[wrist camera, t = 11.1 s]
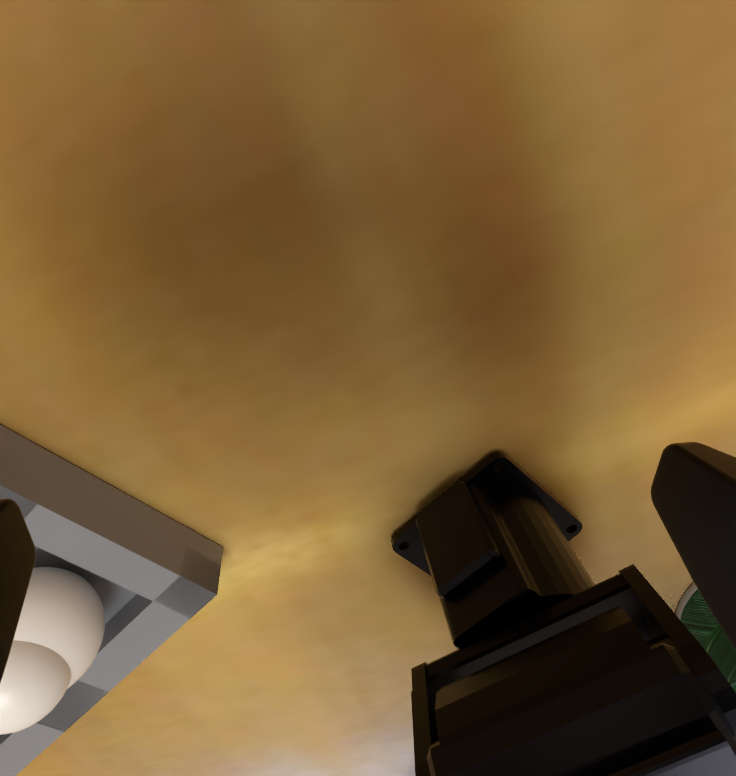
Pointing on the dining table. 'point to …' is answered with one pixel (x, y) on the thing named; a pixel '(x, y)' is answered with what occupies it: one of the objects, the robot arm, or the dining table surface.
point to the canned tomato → (708, 632)
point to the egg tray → (111, 565)
